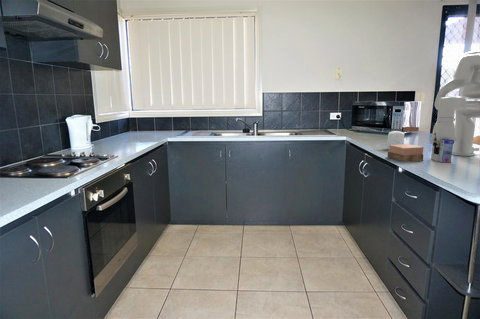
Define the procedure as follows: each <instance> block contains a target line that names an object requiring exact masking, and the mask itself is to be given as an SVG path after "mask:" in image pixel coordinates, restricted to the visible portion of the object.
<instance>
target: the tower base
mask: <svg viewBox="0 0 480 319" xmlns="http://www.w3.org/2000/svg"><path fill="white" fill-rule="evenodd" d="M386 158H388V159H392V160H394V161H398V162H400V163H402V162H406V163H407V162H423V161H424V153H423V154H420V155H400V154H396V153H392V152H389V151H387V157H386Z"/></svg>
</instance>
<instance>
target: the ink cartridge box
mask: <svg viewBox="0 0 480 319" xmlns="http://www.w3.org/2000/svg"><path fill="white" fill-rule="evenodd" d="M434 142H435V141H434ZM453 142H454V140H451V139H442V140H441V142H440V145H439V148H440V149H439V154H438V155H437V154H434V146H433V145H432V146H431V152H430V153H431V154H430V159H431V160H433V161H436V162H439V163H452V156H453V155H452V150H453ZM437 143H438V142H437Z"/></svg>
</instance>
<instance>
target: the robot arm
mask: <svg viewBox="0 0 480 319" xmlns="http://www.w3.org/2000/svg"><path fill="white" fill-rule="evenodd" d="M455 67H456V68H455V71H454V74H453V77H452V79H450V80H449V81H447V82H446V83H445V84H443V86H442V87H441V88H440V89H439V90H438V92H437V95H436V98H435V101H434V107H435V108H434V109H436V110H437V118H436V123H434V126H433V129H432V134H431V138H430V139H429V142H430V143H431V144H432V145H433V146H434V154H437V155H438V154H439V149H440V148H439V145H440V142H441V140H442V139H451V140H454V142H453V150H452V156H453V155H454V156H463V157H473V156H475V155H476V154H475V152H479V151H480V147H474V146H473V144H474V136H475V130H476V125H475V122H474V121H473V120H472V119H475V118H476V119H480V50H472V51H468V52H467V51H466V52H465V53H463V54H462V55H461V57H460V58H459V60H458V62H457V65H456V66H455ZM460 88H462V93H461V96H447V95H448V94H449V93H451V92H454V91H455V90H458V89H460ZM454 122H455V123H454ZM434 141H435V142H434ZM437 142H438V143H437Z"/></svg>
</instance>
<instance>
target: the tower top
mask: <svg viewBox="0 0 480 319" xmlns="http://www.w3.org/2000/svg"><path fill="white" fill-rule="evenodd" d="M388 152H392V153H396V154H400V155H420V154H423V155H424V147H423V146H420V145H419V146H418V145H414V144H410V143H406V144H402V145H390V148H389V150H388Z"/></svg>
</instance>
